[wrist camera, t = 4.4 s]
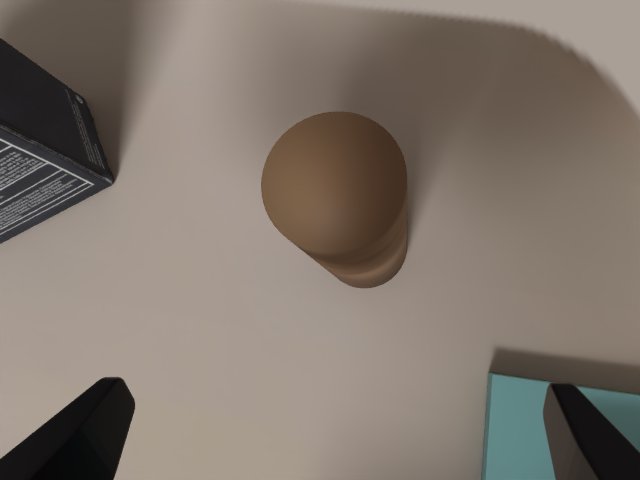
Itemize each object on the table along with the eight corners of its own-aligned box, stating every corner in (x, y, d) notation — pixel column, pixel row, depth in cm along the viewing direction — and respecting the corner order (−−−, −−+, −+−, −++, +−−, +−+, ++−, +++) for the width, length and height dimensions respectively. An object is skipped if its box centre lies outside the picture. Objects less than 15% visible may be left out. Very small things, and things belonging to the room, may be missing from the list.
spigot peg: (318, 283, 22) (250, 245, 13) (329, 202, 23) (272, 108, 13) (402, 292, 21) (398, 260, 12) (410, 209, 22) (413, 114, 13)
